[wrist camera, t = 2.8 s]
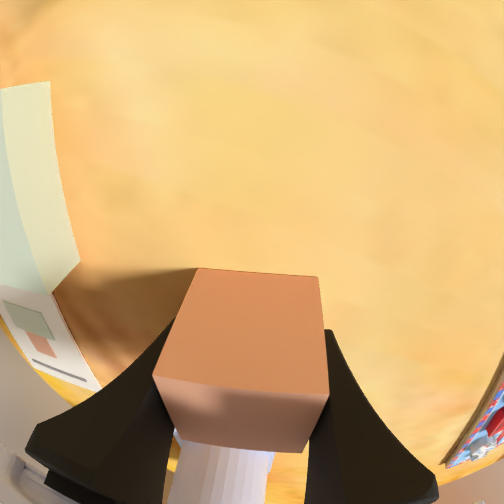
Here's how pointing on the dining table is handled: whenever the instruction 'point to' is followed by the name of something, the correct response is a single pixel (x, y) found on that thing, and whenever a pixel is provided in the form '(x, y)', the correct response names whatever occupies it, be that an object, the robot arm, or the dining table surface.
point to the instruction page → (45, 336)
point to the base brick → (32, 194)
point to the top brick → (246, 361)
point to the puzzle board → (483, 428)
